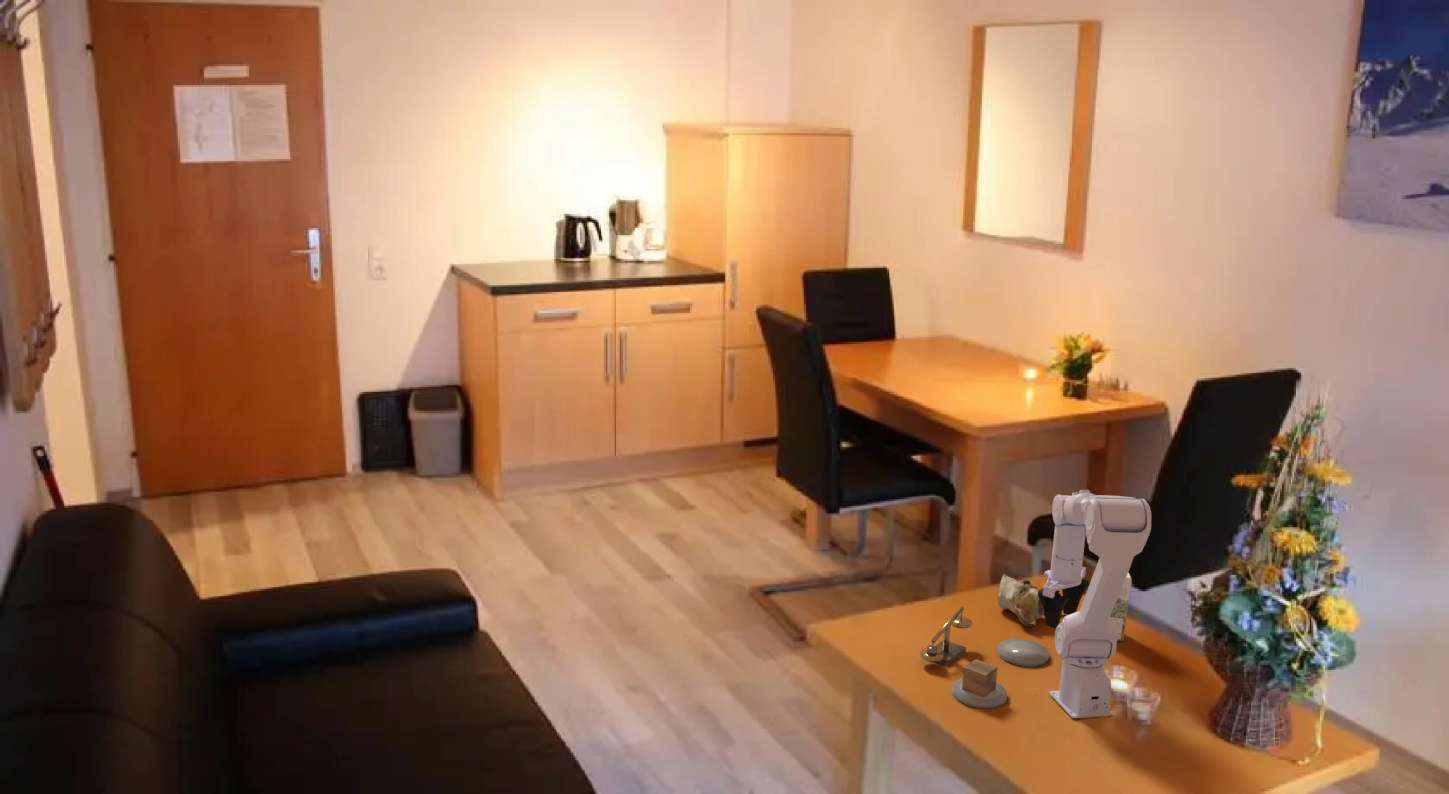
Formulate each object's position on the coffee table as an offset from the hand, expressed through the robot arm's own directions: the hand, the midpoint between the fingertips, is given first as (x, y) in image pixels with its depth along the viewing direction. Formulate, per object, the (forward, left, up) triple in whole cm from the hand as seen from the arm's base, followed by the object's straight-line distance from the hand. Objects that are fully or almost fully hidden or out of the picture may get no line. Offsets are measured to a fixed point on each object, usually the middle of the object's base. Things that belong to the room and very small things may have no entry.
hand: (1060, 620), depth 232 cm
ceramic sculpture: (+22, -4, -10) cm, 24 cm away
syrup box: (+11, -17, -10) cm, 22 cm away
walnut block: (-9, +20, -8) cm, 24 cm away
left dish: (-9, +20, -9) cm, 24 cm away
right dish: (+5, +5, -9) cm, 12 cm away
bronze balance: (+7, +20, -9) cm, 23 cm away
